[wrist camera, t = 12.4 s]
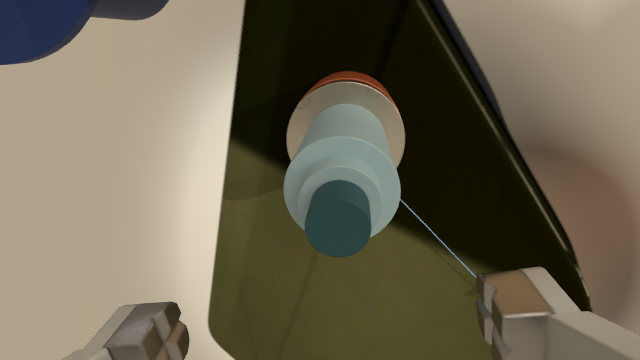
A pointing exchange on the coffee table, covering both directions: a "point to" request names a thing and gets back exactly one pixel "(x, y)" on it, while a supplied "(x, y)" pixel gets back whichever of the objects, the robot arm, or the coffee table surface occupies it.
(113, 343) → the robot arm
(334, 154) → the bottle
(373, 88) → the tin
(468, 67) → the coffee table surface
